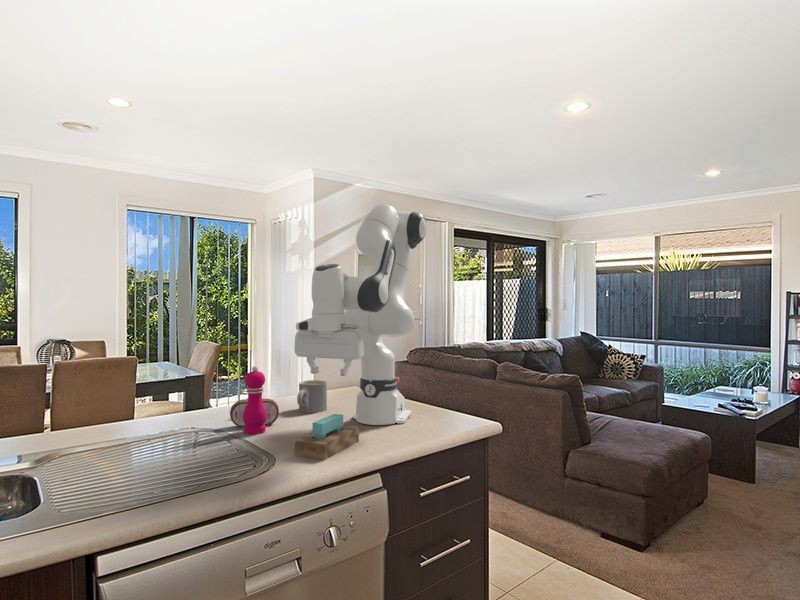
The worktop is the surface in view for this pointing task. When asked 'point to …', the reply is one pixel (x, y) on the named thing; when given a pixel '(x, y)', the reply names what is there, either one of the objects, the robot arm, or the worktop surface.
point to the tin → (240, 406)
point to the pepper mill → (254, 403)
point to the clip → (327, 425)
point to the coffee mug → (312, 396)
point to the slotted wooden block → (326, 443)
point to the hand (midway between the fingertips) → (329, 374)
